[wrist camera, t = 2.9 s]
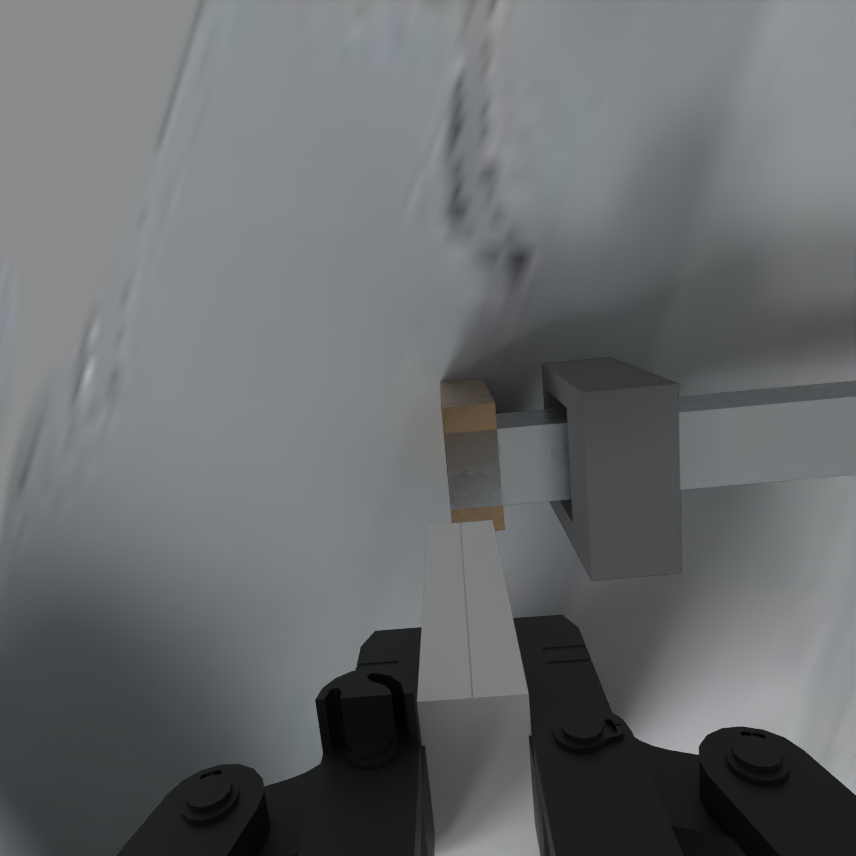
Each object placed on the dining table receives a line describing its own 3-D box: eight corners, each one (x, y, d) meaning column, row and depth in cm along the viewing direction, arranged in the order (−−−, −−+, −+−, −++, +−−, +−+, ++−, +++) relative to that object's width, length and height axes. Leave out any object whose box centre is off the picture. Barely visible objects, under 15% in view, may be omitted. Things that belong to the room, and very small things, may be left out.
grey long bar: (449, 482, 32) (453, 535, 25) (440, 381, 31) (441, 408, 24) (989, 434, 31) (1147, 475, 24) (998, 329, 30) (1166, 341, 23)
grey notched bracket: (549, 502, 30) (591, 580, 22) (541, 363, 29) (582, 392, 21) (615, 496, 30) (681, 573, 22) (610, 357, 28) (678, 383, 20)
